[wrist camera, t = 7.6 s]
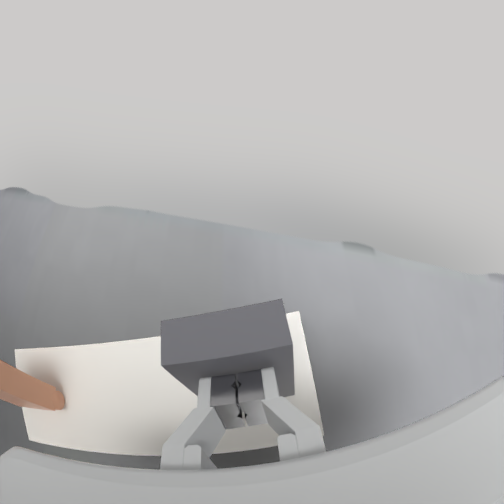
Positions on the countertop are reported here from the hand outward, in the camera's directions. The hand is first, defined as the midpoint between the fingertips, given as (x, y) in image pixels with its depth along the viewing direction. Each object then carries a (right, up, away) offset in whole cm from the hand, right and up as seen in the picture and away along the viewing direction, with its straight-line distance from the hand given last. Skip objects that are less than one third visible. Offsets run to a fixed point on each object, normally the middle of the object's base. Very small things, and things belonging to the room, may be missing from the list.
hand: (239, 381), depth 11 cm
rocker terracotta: (-17, -7, +6) cm, 19 cm away
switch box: (-8, -8, +14) cm, 18 cm away
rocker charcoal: (0, -3, +6) cm, 6 cm away
